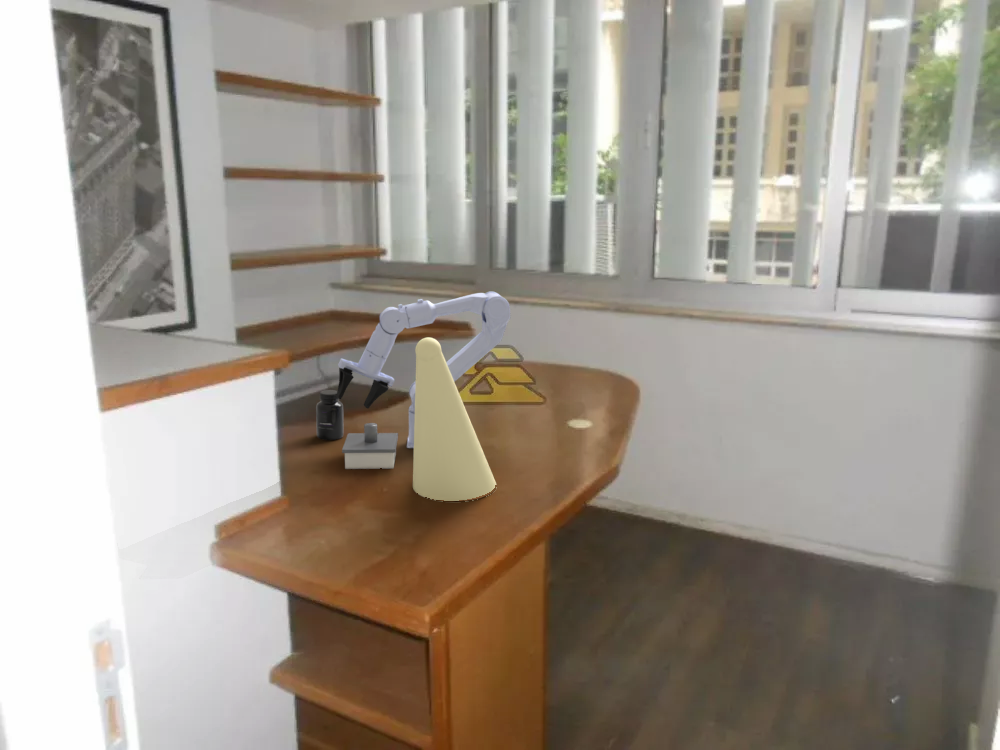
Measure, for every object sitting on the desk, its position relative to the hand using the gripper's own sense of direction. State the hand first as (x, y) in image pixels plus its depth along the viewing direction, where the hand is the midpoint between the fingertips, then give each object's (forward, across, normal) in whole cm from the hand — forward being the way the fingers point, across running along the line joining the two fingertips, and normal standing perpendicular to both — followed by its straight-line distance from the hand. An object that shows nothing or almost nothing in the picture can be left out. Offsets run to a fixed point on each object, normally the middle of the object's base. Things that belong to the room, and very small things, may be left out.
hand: (352, 402), depth 185 cm
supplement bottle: (+13, -2, -8) cm, 16 cm away
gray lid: (+5, -4, +12) cm, 14 cm away
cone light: (+2, -13, +37) cm, 39 cm away
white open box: (+8, -5, +13) cm, 16 cm away
